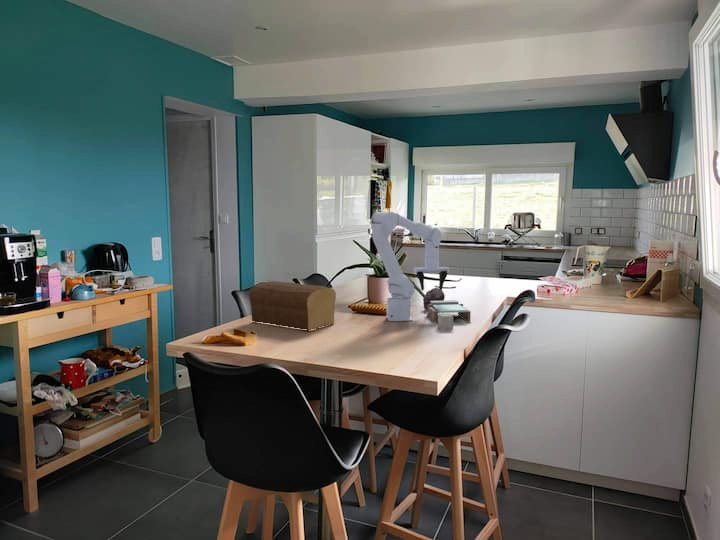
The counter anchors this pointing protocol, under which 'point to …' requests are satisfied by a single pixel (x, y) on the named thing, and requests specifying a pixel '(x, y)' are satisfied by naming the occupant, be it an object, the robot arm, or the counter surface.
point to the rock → (433, 296)
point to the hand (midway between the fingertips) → (431, 289)
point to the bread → (292, 304)
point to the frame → (434, 314)
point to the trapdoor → (447, 306)
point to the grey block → (445, 321)
